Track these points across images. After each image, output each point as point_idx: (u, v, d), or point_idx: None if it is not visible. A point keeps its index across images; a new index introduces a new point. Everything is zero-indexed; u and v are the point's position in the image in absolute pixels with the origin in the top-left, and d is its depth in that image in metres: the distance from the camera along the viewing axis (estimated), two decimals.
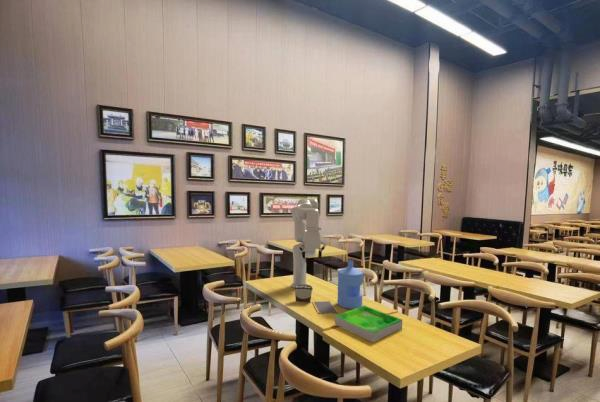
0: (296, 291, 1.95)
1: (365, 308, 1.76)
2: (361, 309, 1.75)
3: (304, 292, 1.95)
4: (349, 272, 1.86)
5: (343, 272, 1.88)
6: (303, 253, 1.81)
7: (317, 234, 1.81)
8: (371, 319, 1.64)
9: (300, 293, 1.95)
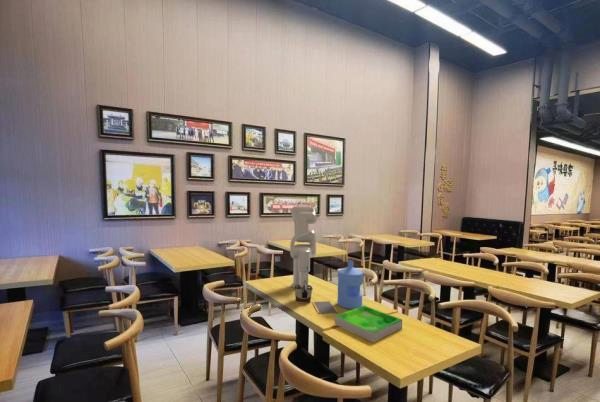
0: (296, 291, 1.95)
1: (365, 308, 1.76)
2: (361, 309, 1.75)
3: None
4: (349, 272, 1.86)
5: (343, 272, 1.88)
6: (305, 293, 1.94)
7: None
8: (371, 319, 1.64)
9: (300, 293, 1.95)
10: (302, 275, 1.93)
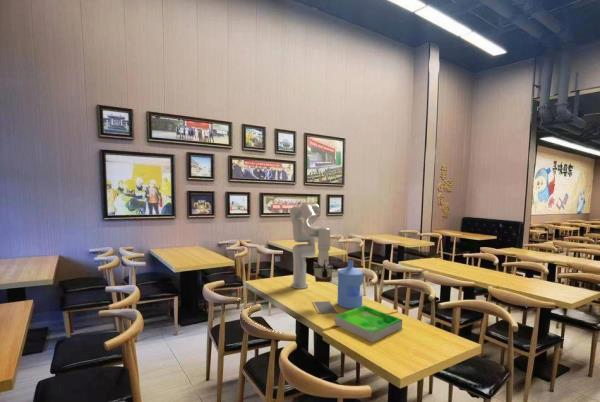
0: (316, 270, 1.89)
1: (365, 308, 1.76)
2: (361, 309, 1.75)
3: None
4: (349, 272, 1.86)
5: (343, 272, 1.88)
6: (326, 272, 1.87)
7: None
8: (371, 319, 1.64)
9: (320, 272, 1.89)
10: (322, 253, 1.86)
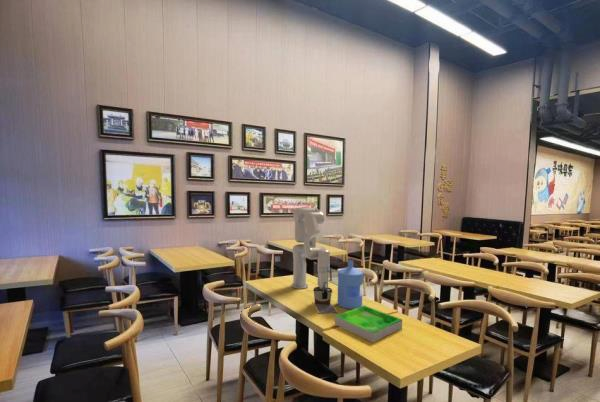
0: (315, 293, 1.90)
1: (365, 308, 1.76)
2: (361, 309, 1.75)
3: None
4: (349, 272, 1.86)
5: (343, 272, 1.88)
6: None
7: None
8: (371, 319, 1.64)
9: (319, 295, 1.90)
10: (322, 276, 1.87)
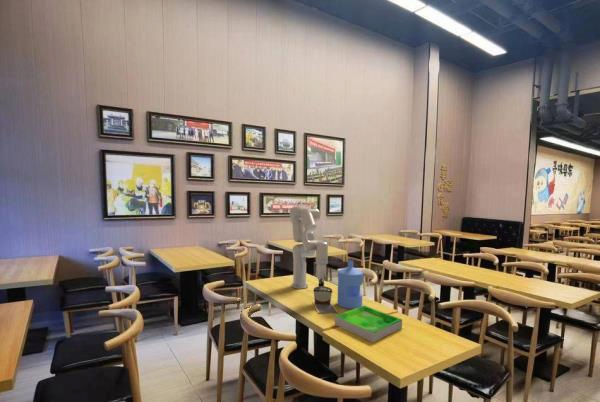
0: (315, 294, 1.89)
1: (365, 308, 1.76)
2: (361, 309, 1.75)
3: (324, 295, 1.89)
4: (349, 272, 1.86)
5: (343, 272, 1.88)
6: None
7: None
8: (371, 319, 1.64)
9: (319, 296, 1.89)
10: (320, 267, 1.91)
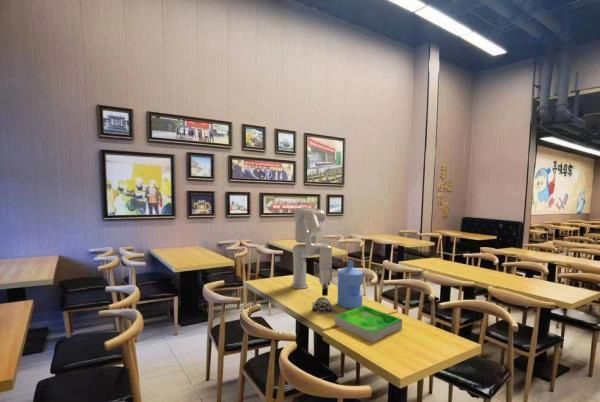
0: None
1: (365, 308, 1.76)
2: (361, 309, 1.75)
3: None
4: (349, 272, 1.86)
5: (343, 272, 1.88)
6: None
7: None
8: (371, 319, 1.64)
9: None
10: (324, 272, 1.81)
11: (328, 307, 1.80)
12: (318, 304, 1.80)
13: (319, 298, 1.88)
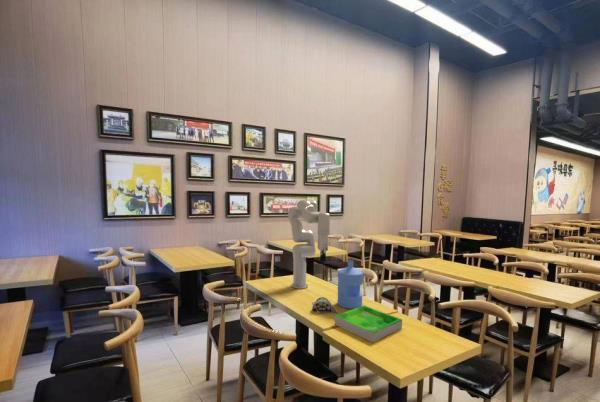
0: None
1: (365, 308, 1.76)
2: (361, 309, 1.75)
3: None
4: (349, 272, 1.86)
5: (343, 272, 1.88)
6: None
7: None
8: (371, 319, 1.64)
9: None
10: (322, 238, 1.88)
11: (328, 307, 1.80)
12: (318, 304, 1.80)
13: (319, 298, 1.88)
